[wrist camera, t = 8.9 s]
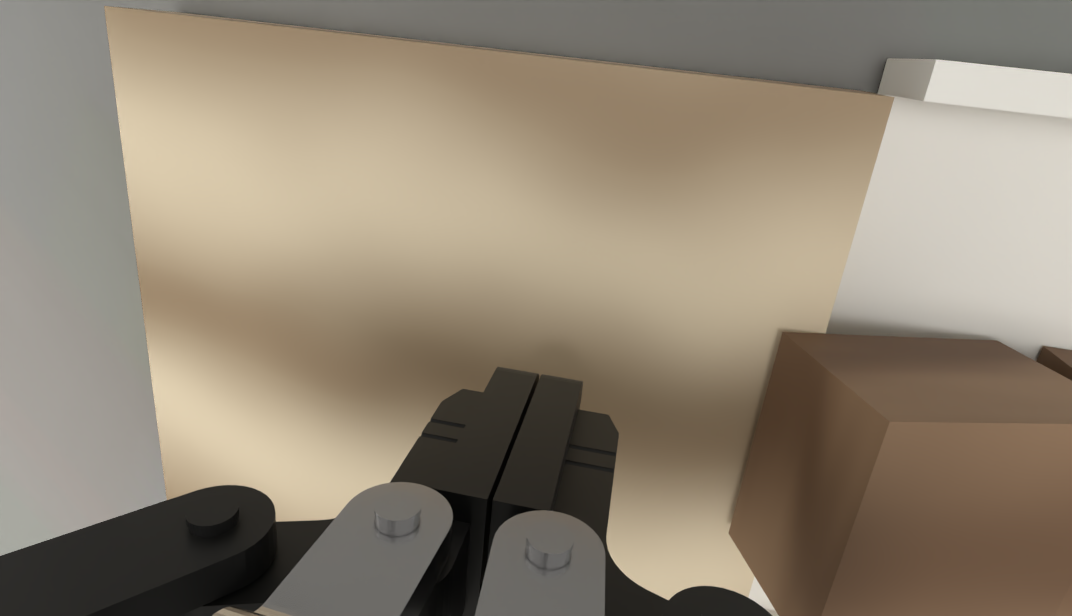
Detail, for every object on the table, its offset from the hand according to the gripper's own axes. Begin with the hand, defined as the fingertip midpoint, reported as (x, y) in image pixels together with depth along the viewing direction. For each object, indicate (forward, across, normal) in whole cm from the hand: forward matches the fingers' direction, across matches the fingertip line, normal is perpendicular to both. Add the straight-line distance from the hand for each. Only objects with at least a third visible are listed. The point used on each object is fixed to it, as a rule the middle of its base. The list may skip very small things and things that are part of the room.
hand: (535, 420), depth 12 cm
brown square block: (+2, -6, 0) cm, 7 cm away
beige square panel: (+4, +2, 0) cm, 4 cm away
